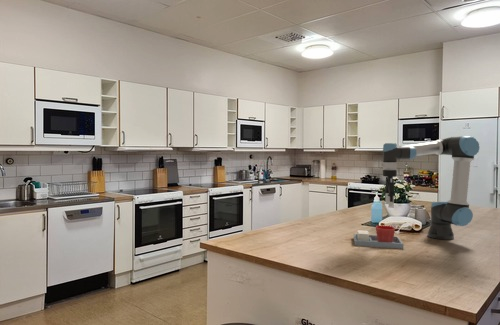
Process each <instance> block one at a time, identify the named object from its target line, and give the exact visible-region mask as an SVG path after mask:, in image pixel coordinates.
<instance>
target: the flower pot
mask: <svg viewBox="0 0 500 325" xmlns="http://www.w3.org/2000/svg"><path fill="white" fill-rule="evenodd" d="M375 232H376V235H377V240H378V242H389V243H392V242H393V237H394V236H395V232H396V227H394V226H391V225H376V226H375Z"/></svg>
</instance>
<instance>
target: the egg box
mask: <svg viewBox="0 0 500 325" xmlns="http://www.w3.org/2000/svg"><path fill="white" fill-rule="evenodd" d="M356 234H357V240H359V241H369V235H370V233H369V231H368V230H360V229H358V230H357V232H356Z"/></svg>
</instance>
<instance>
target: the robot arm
mask: <svg viewBox="0 0 500 325" xmlns="http://www.w3.org/2000/svg"><path fill="white" fill-rule="evenodd" d="M479 152H480V142H479V141H478V140H477V139H476V138H475V137H474V136H469V135H463V136H462V135H461V136H451V137H445V138H441V139H436V140H434V141H431V142H423V143H413V144H406V145H397V143H396V142H395V143H394V142H387V143H386V142H385V143H383V147H382V161H383V162H382V164H381V165H382V176H383V177H385V190H384V191H385V205H388V208H394V206H395V203H394V202H395V186H394V185H395V184H394V182H395V181H394V180H395V179H394V178H393V177H397V173H398V172H397V168H398V162H397V161H398V160H413V159H415V158H416V157H419V156H428V155H437V156H441V155H443V156H447V155H448V156H451V159H452V160H453V171H452V180H451V181H452V182H451V191H450V198H449V200H448V201H433V202H431V205H430V225H429V227H428V228H429V229H428V231H427V237H429V238H432V239H438V240H446V241H447V240H449V241H450V240H454V239H455V233H454V231H453V229H452V225H454V226H456V227H464V226H465V227H466V226H468V225H469V224H470V223H471V222H472V221H473V218H474V213H473V211H472V210H471V208H470V204H469V202H468V201H467V200H468V199H467V198H468V192H469V191H468V190H469V181H470V180H469V179H470V172H471V163H472V161H473V160H474V159H475V158H474V157H475V156H476V155H477V154H478V153H479Z"/></svg>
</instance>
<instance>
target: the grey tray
mask: <svg viewBox="0 0 500 325" xmlns="http://www.w3.org/2000/svg"><path fill="white" fill-rule="evenodd" d="M353 242H354V246H357V247H358V246H359V247H373V248H375V247H376V248H385V249H386V248H388V249H401V250H402V251H404V242H403V241H402V239H401V238H400V237H399V236H395V235H394V237H393V242H392V243H389V242H378V240H377V234H369V241H359V240H357V233H353Z"/></svg>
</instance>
